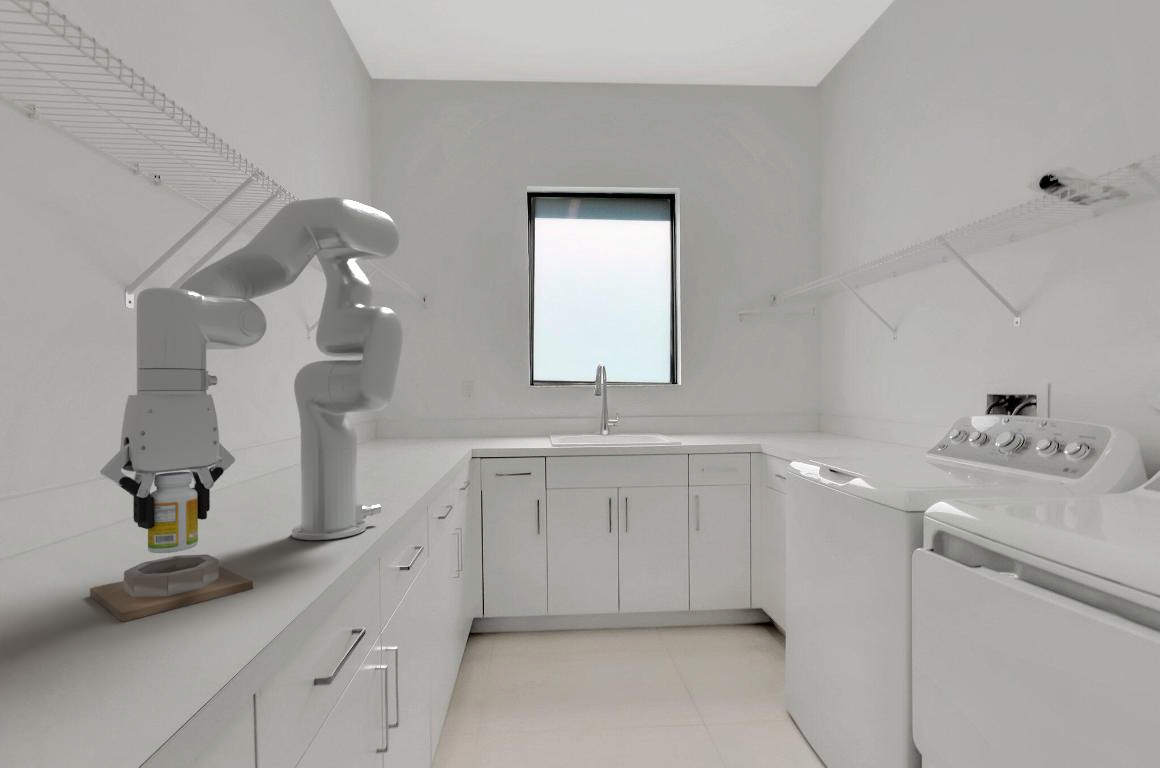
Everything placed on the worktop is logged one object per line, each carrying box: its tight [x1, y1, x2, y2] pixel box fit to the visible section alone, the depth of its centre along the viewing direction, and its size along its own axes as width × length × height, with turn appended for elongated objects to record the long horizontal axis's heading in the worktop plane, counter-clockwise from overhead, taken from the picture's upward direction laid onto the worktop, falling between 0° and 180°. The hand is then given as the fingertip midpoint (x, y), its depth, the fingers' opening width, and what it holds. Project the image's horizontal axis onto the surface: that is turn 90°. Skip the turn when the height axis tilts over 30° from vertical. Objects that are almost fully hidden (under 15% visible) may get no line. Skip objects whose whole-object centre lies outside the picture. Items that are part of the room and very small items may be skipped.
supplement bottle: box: [147, 471, 199, 554], centre depth 76 cm, size 5×5×10 cm
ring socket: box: [89, 554, 254, 623], centre depth 76 cm, size 14×14×4 cm
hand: (173, 521), depth 76 cm, fingers closed on supplement bottle, 5 cm apart
